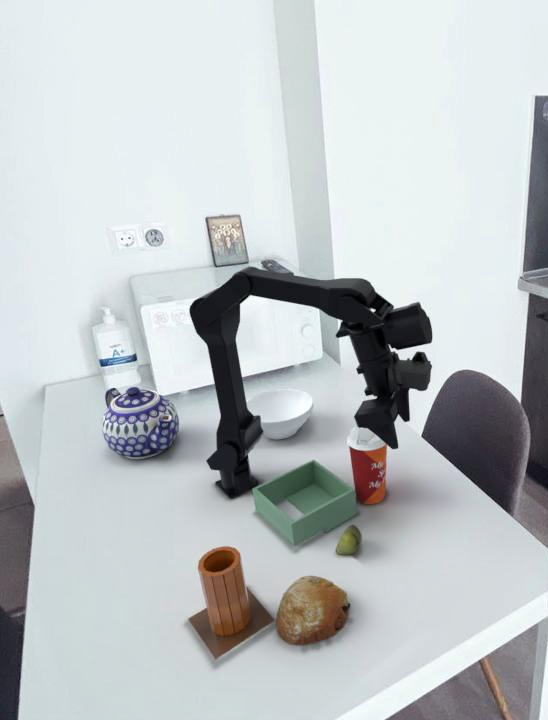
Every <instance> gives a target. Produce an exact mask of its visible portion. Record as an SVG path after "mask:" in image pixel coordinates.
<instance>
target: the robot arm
mask: <svg viewBox="0 0 548 720" xmlns="http://www.w3.org/2000/svg"><path fill="white" fill-rule="evenodd" d="M251 296H252V297H257V298H263V299H268V300H275V301H279V302H285V303H290V304H295V305H301V306H307V307H311V308H315V309H317V310H319V311H322V312H323V314H325V315H327V316H328V317H330V318H334V319H336V320H339V321H341V322H340V326H339V328H338V329H337V332H336V333H335V338H337V339H341V338H344V337H349V340H350V343H351V346H352V348H353V351H354V354H355V356H356V359H357V362H358V366H357V367H356V369H355V371H356V373H357V375H362V376H363V379H364V381H365V384H366V387H365V389H364V390H363V393H364V395H365V396H366V397H369V396H372V397H375V398H372V399H367V400H363V401H362V402H361V404H360V406H359V407H358V409H357V410H356V412H355V414H354V416H353V419H354V421H355V424H356V426H358V427H359V428H362V427H363V428H368V429H369V430H370V431H372V432H373V433H374V434H376V435H377V436H378V437H379V438H380V439H381V440H382V441H384V442H385V443H386V444H387V447H389V448H390V449H391V450H398V449H399V448H400V447H399V440H398V435H397V429H396V426H395V422H396V421H397V418H398V417H400V418H401V420H402V421H403V422H404V423H408V422H410V421H411V412H410V393H409V392H410V389H411V390H417V391H418V392H426V391H427V390H428V388H429V384H430V383H431V376H432V369H433V365H432V363H431V360H429V359H428V356H427V354H426V353H425V352H424V351H418V350H417V351H416V352H415V353H414V355H413V356H412V357H411V358H409V357H407V358H406V359H400V357H399V354H398V353H397V352H396V351H400V350H406V349H410V348H416V347H420V346H424V345H425V346H426V345H430V344H431V343H432V342H433V327H432V323H431V320H430V319H431V318H430V316H428V315H427V312H426V311H425V310H424V309H423V307H422V305H421V302H420V301H416V302H412V303H409V304H407V305H404V306H400V307H396V308H395V306H394V305H393V304H392V303H391V302H390V301H388V300H387V299H386V298H385V297H383V296H382V295H381V294H379V293H378V292H377V291H376V289H375V287H374V286H373V284H372V283H371V281H369V280H368V279H365V278H361V277H340V278H334V279H318V278H312V277H305V276H300V275H294V274H289V273H283V272H278V271H273V270H266V269H260V268H258V267H256V266H249V265H248V266H246V267H244V268H242V269H241V270H238V271H237V272H234V274H232V276H231V277H230V278H229V279H228V280H226V282H225V283H223V284H222V285H221V286H219V287H217V288H215V289H213V290H211V291H209V292H208V293H205V294H204V295H202V296H200V297H198V298H196V299H194V300H193V301H192V303H191V304H190V305H189V308H188V309H189V310H188V311H189V317H190V319H191V322H192V325H193V328H194V331H195V333H196V334H197V335H198V337H200V339H201V341H203V342H204V343H205V344H206V347H207V352H208V358H209V362H210V367H211V368H210V369H211V372H212V378H213V383H214V388H215V393H216V398H217V404H218V409H219V414H220V415H219V416H220V418H219V422H218V427H217V429H216V449H215V451H214V452H213V453H212V454H211V455H210V456H209V457H208V458H207V459H206V460H205V461H206V463H207V466H208V467H209V469H210V470H211V471H218V472H219V477H220V479H218V480H217V481H215V482H214V484H215V486H216V487H217V488H218V489H219V490H220V491H221V492H222V493H223V495H225V496H226V497H227V498H228V499H232V498H235V497H236V496H239V495H241V494H243V493H245V492H247V491H249V490H252V489H253V488H255V487H257V486H259V485H260V481H259V480H258V479H257V478H256V477H254V475H252V469H251V465H250V459H249V453H250V452H251V451H252V450H254V448H255V446H256V445H257V444H258V443H259V442H260V440H261V438H262V435H264V434H263V432H264V431H263V429H262V427H261V417H260V415H256V416H254V415H253V414H252V413H251V412H250V411H249V410H248V408H247V404H246V401H247V399H246V393H245V392H246V391H245V387H244V381H243V375H242V369H241V362H240V357H239V351H238V344H237V335H238V330H239V327H240V323H241V304H242V303H244V302H245V301H246V300H247V299H248V298H250V297H251ZM373 310H374V311H373ZM391 349H395V350H396V351H395V350H393V351H392V350H391Z"/></svg>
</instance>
